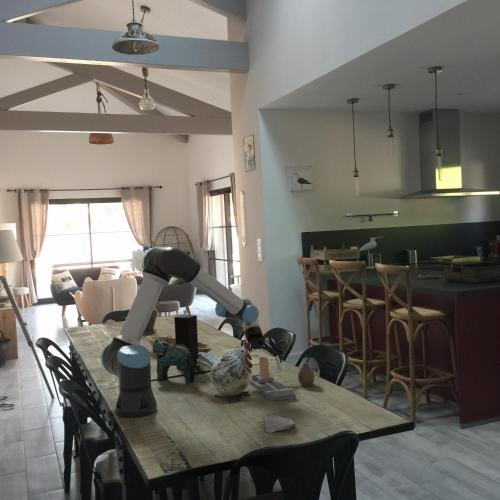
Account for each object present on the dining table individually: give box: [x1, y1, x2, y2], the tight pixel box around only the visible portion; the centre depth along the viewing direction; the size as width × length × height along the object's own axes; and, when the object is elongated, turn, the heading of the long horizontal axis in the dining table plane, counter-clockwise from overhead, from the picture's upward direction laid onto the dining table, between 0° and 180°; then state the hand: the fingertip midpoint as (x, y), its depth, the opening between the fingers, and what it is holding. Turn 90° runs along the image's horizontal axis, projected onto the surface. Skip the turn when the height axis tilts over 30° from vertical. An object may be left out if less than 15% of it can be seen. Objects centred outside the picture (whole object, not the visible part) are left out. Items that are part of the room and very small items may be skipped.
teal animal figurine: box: [152, 335, 196, 384], centre depth 242 cm, size 20×6×20 cm, turn 62°
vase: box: [297, 363, 316, 387], centre depth 229 cm, size 7×7×9 cm
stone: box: [263, 414, 295, 434], centre depth 184 cm, size 10×12×4 cm
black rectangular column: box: [173, 309, 199, 370], centre depth 264 cm, size 8×8×28 cm
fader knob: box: [256, 356, 274, 383], centre depth 231 cm, size 5×6×10 cm
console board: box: [249, 372, 297, 402], centre depth 224 cm, size 26×10×4 cm, turn 19°
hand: (266, 372), depth 230 cm, fingers open, 13 cm apart
